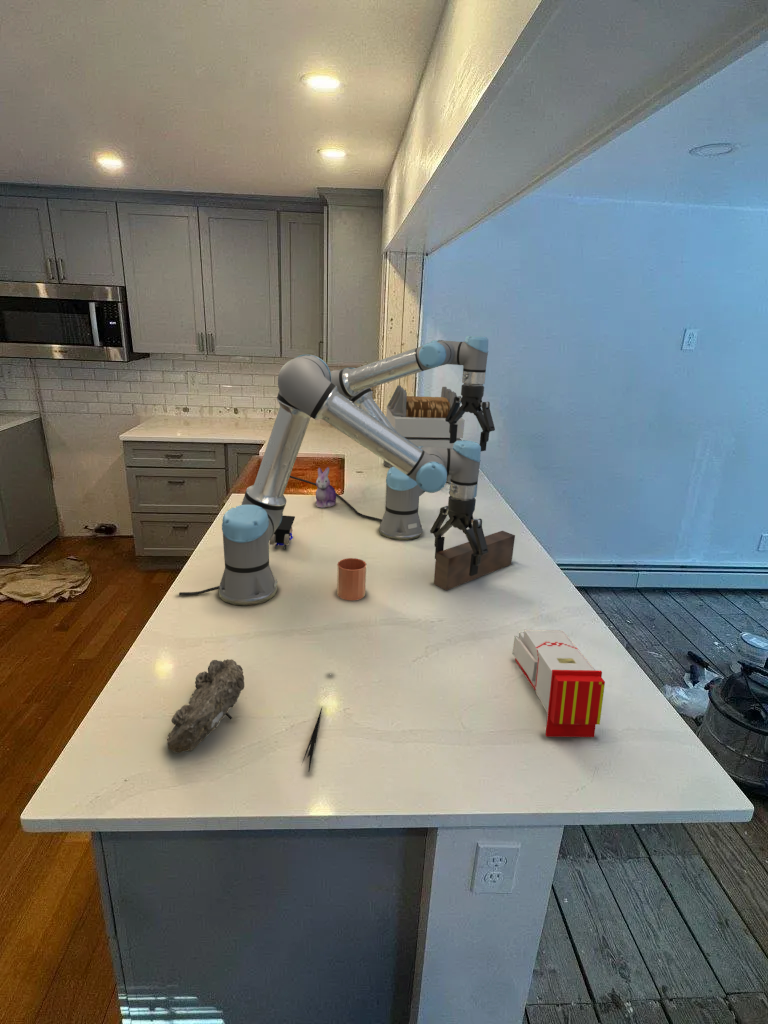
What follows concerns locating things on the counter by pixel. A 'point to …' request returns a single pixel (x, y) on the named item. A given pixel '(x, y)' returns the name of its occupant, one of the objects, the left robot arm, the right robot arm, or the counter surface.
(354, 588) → the terracotta cup
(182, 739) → the fossil
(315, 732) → the feather
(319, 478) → the figurine
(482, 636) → the counter surface
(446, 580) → the walnut box
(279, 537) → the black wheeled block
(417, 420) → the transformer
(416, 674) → the counter surface
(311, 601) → the counter surface
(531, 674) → the toy
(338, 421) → the left robot arm
